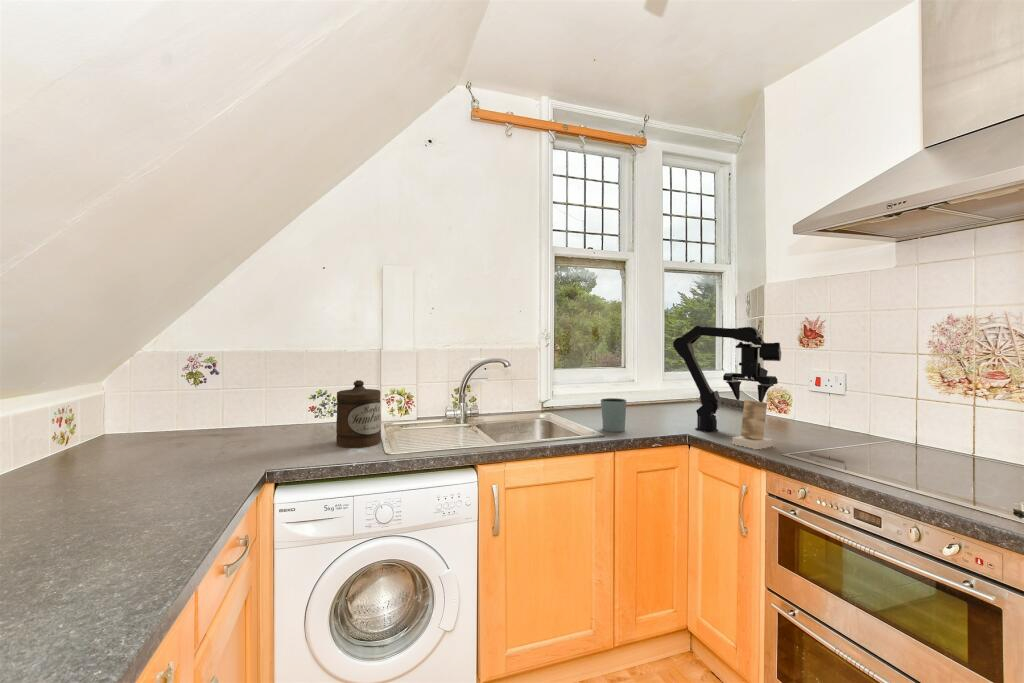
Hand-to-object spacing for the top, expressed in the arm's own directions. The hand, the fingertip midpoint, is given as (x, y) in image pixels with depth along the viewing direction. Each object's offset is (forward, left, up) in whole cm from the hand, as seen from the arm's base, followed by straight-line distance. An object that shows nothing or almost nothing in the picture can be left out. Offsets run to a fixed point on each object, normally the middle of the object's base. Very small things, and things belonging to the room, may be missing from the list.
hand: (749, 401), depth 180 cm
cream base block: (+10, -13, -14) cm, 22 cm away
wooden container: (-62, -130, -13) cm, 145 cm away
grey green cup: (-34, -37, -13) cm, 52 cm away
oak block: (+10, -14, -10) cm, 20 cm away
